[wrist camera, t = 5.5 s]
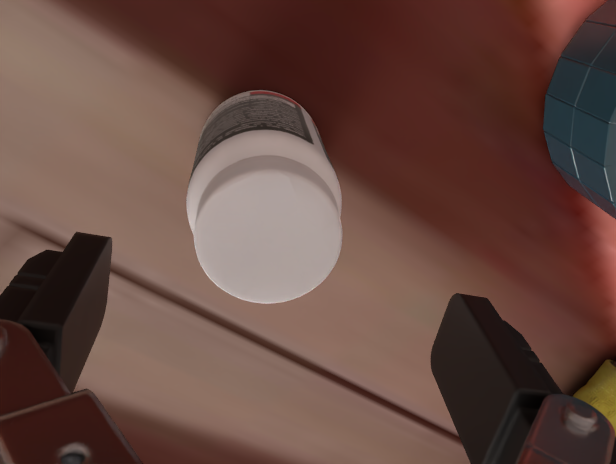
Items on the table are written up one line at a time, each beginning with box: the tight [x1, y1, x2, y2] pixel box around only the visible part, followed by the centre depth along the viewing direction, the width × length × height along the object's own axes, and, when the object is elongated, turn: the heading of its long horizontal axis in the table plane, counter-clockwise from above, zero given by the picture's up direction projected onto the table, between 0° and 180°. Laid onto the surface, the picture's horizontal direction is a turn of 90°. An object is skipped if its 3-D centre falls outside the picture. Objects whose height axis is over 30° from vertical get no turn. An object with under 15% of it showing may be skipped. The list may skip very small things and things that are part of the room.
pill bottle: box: [186, 90, 342, 304], centre depth 19 cm, size 5×5×8 cm
